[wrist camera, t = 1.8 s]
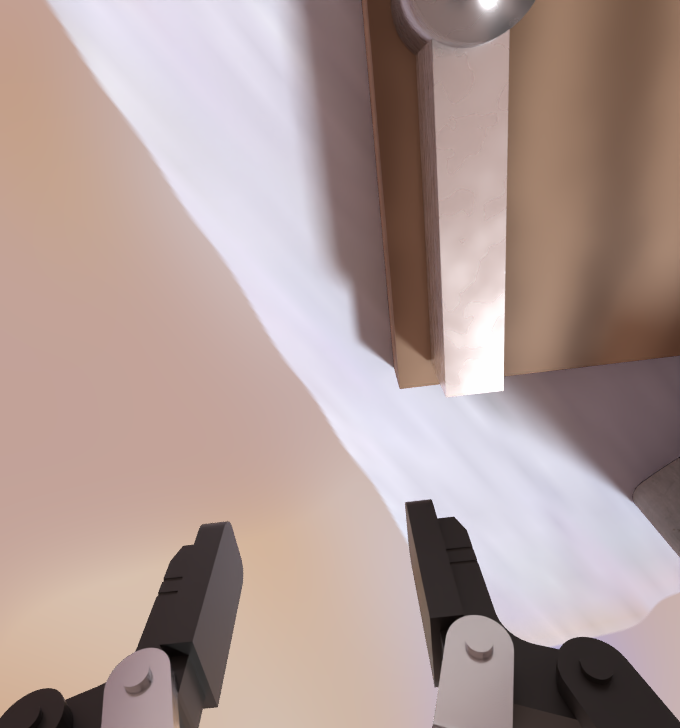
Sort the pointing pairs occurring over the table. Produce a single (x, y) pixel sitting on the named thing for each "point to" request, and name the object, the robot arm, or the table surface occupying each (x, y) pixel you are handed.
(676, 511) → the hip flask
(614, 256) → the lock board
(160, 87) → the table surface
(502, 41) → the bar
